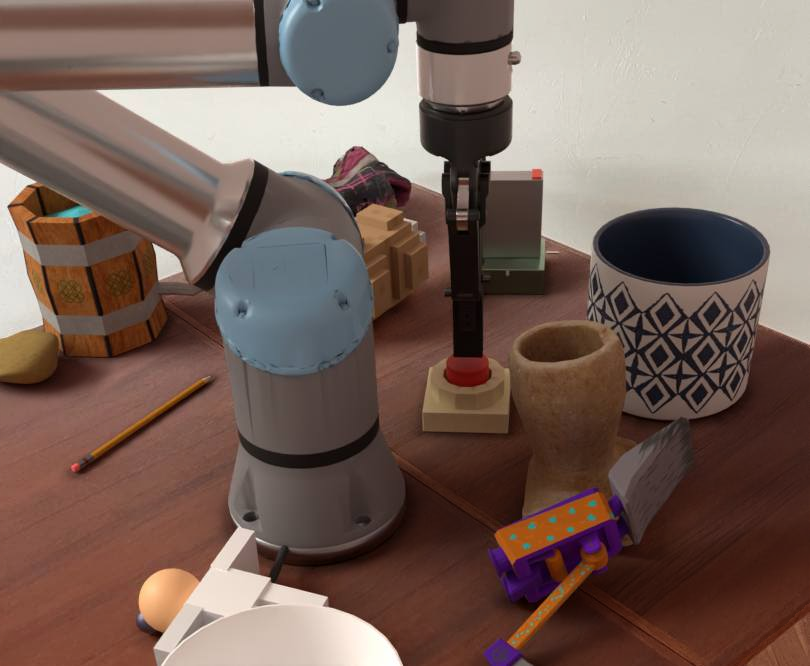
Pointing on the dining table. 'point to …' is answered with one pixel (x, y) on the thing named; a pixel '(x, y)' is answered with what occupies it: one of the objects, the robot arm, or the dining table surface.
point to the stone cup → (569, 408)
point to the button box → (467, 402)
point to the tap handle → (514, 214)
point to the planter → (680, 306)
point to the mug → (90, 275)
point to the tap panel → (516, 274)
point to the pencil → (137, 425)
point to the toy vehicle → (585, 532)
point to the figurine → (210, 594)
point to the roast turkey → (392, 255)
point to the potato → (28, 356)
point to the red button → (467, 371)
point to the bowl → (286, 640)
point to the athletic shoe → (368, 181)
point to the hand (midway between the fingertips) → (468, 353)
